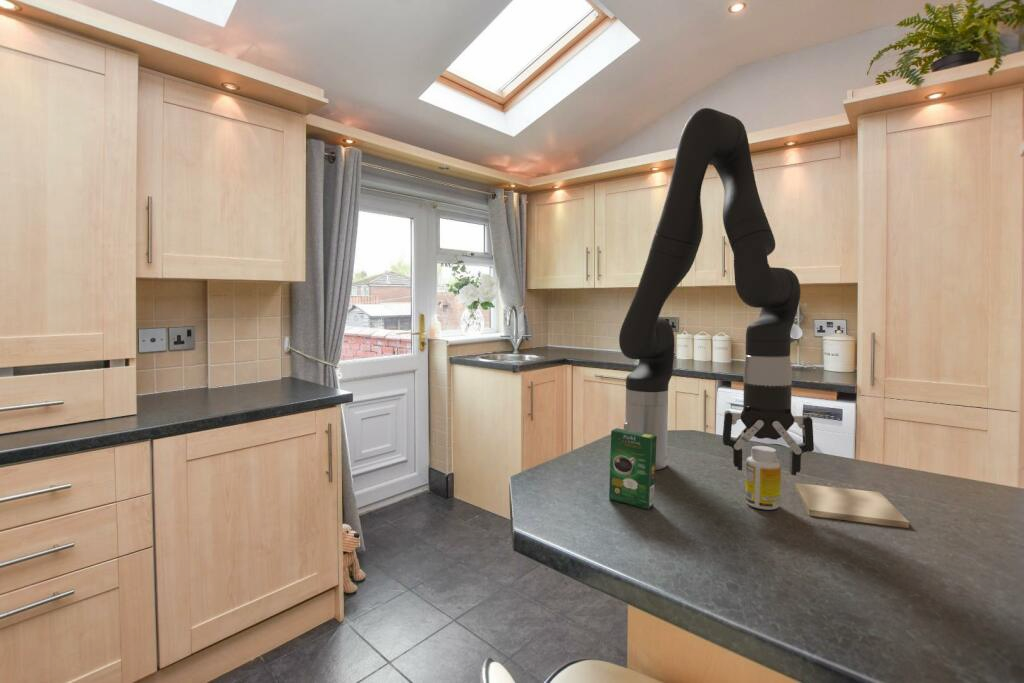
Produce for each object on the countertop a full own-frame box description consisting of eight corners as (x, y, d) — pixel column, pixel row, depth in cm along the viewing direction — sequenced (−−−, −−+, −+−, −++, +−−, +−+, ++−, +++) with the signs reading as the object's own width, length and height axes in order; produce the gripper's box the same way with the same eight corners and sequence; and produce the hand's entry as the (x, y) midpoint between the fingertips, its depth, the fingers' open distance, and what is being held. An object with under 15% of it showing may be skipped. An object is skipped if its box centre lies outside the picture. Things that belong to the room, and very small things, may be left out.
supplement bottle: (785, 505, 89) (787, 449, 88) (771, 513, 85) (773, 455, 85) (753, 496, 93) (755, 442, 93) (739, 504, 90) (740, 448, 89)
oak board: (809, 515, 85) (809, 509, 85) (794, 487, 98) (794, 482, 98) (908, 528, 80) (909, 522, 80) (879, 497, 93) (879, 492, 93)
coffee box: (656, 505, 89) (657, 433, 88) (650, 511, 87) (651, 436, 86) (615, 495, 94) (616, 427, 93) (608, 500, 92) (609, 429, 91)
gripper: (724, 382, 87) (723, 474, 88) (818, 385, 82) (816, 482, 83) (722, 377, 94) (721, 462, 95) (809, 379, 89) (807, 469, 90)
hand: (765, 471), depth 89 cm, fingers open, 8 cm apart
